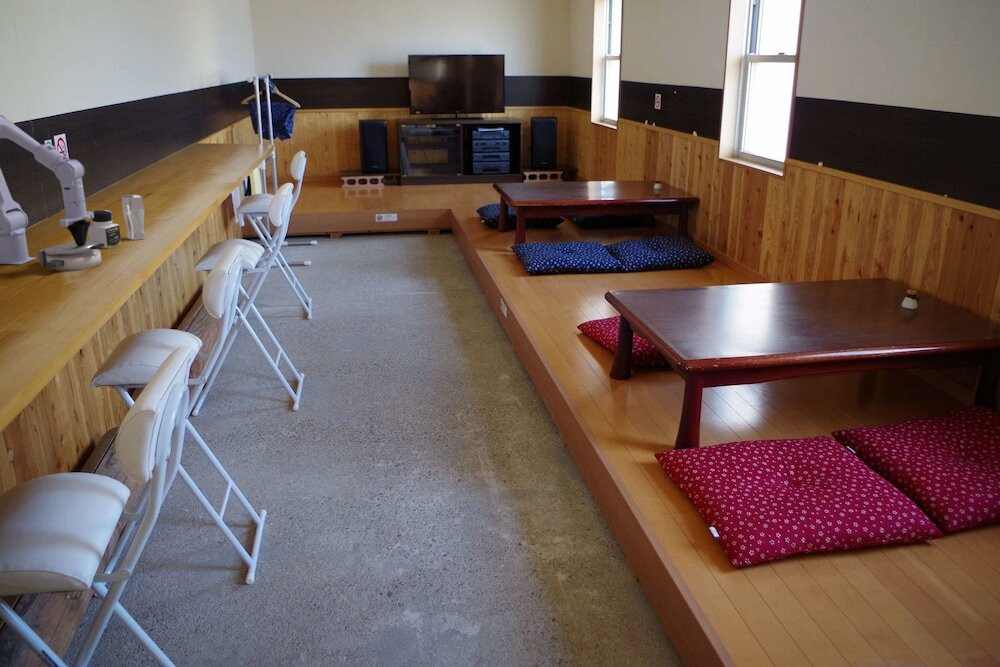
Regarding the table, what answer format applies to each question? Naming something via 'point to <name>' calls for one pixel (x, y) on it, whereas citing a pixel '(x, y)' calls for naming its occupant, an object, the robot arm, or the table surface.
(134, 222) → the beer glass
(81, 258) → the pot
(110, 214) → the medicine bottle
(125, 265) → the table surface
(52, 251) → the lid
